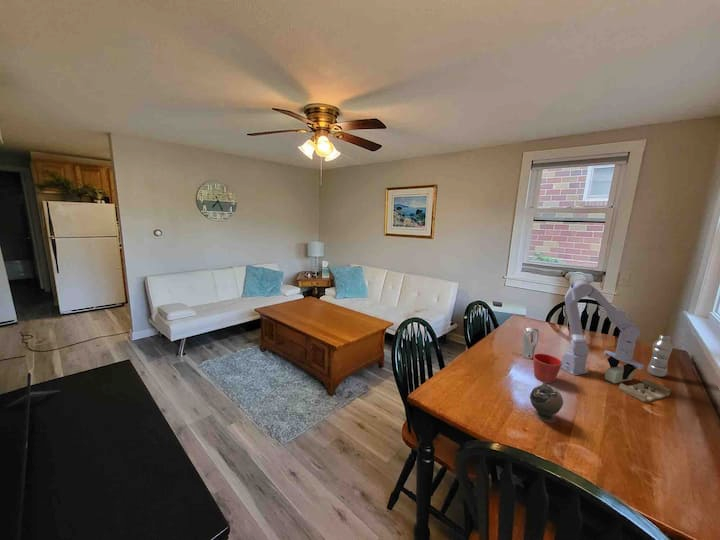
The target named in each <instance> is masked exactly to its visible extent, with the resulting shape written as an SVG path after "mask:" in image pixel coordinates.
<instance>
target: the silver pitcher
mask: <svg viewBox="0 0 720 540" xmlns="http://www.w3.org/2000/svg"><path fill="white" fill-rule="evenodd" d="M539 334H540V330H539V329H537V328H535V327H530V326H528V327H524V329H523V335H522V351H521V356H522V357H523V358H524V359H525V358H526V359H528V360H529V359H530V360H533V356H534V355H535V351H536V347H537V345H538V342H539V336H540V335H539Z"/></svg>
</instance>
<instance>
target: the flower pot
mask: <svg viewBox="0 0 720 540" xmlns="http://www.w3.org/2000/svg"><path fill="white" fill-rule="evenodd" d="M532 360H533V373H534V378H535V379H536V380H537V381H539V382H542V383H544V382H545V381H546V383H547V384H553V383H554V382H555V381H556V378H557V376H558V374H559V371H561V370H560V369H561V368H560V367H561V365H562V360H560V359H559V358H557V357H556V356H553V355H550V354H548V353H547V354H546V353H534V356H533V359H532Z"/></svg>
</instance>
